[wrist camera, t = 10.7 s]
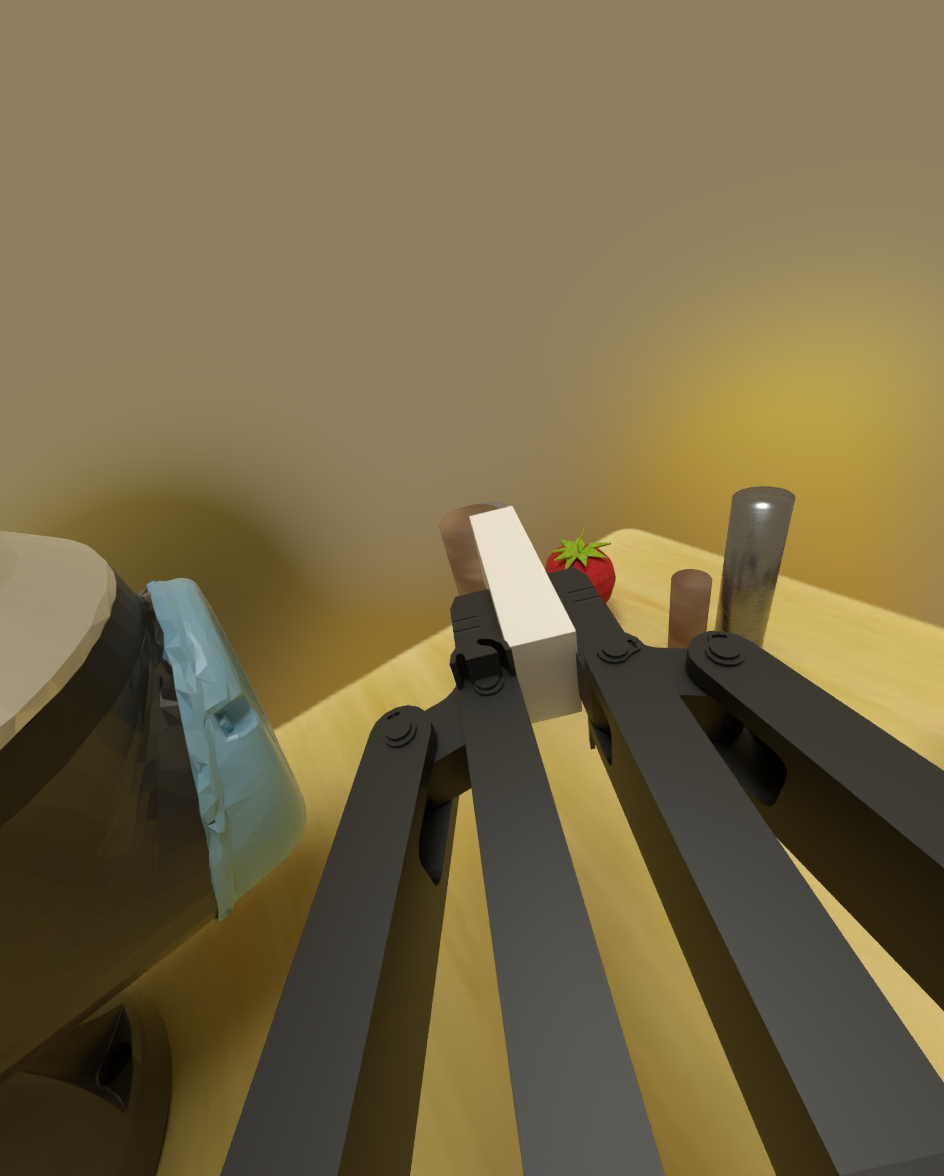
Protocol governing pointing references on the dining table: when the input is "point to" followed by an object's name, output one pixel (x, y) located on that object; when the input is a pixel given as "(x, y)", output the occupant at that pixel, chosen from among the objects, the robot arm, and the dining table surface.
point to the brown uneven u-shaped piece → (462, 553)
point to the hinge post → (753, 560)
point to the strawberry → (585, 563)
